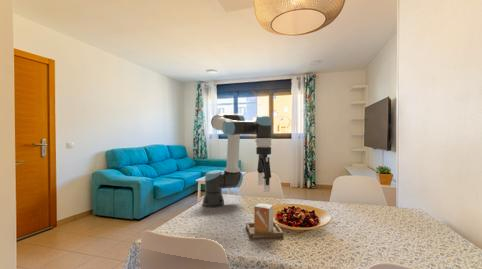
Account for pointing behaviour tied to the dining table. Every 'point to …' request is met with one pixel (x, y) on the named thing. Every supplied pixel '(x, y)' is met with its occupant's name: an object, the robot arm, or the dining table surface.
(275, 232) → the tray
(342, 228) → the dining table surface
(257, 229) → the small box
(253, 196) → the dining table surface
